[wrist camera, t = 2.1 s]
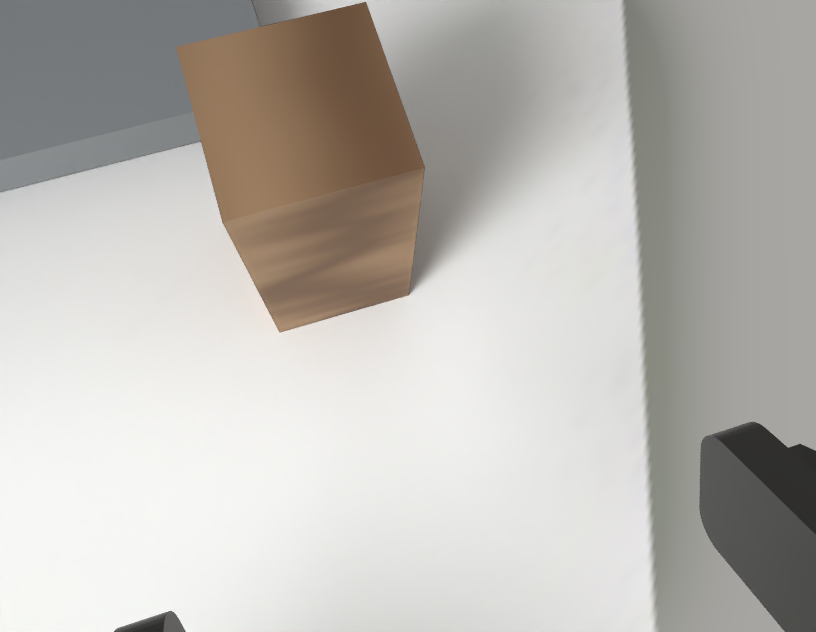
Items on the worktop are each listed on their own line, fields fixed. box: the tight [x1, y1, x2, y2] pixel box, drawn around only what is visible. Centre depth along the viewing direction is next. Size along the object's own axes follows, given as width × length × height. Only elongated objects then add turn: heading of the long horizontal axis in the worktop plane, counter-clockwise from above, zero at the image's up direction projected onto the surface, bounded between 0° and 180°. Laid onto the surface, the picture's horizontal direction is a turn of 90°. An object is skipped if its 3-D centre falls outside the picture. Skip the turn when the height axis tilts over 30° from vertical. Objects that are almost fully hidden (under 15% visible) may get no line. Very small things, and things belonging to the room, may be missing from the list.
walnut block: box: [176, 2, 425, 332], centre depth 23 cm, size 5×5×10 cm
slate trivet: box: [0, 0, 260, 192], centre depth 29 cm, size 12×12×2 cm
